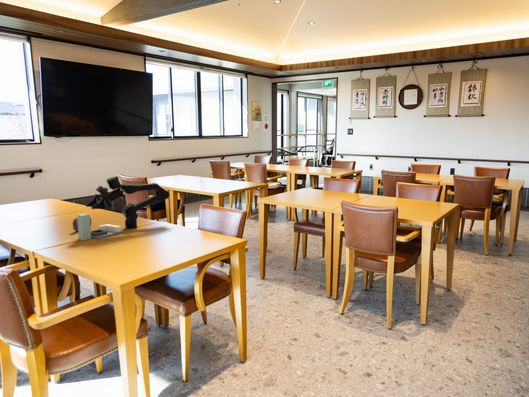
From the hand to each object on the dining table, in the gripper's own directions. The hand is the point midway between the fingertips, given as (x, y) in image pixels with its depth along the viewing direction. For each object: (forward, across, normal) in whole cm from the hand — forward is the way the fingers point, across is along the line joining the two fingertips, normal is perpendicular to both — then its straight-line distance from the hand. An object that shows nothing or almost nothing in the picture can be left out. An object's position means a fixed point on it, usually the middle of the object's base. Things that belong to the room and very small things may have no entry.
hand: (88, 207), depth 234 cm
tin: (+6, -14, +15) cm, 21 cm away
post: (+11, +10, +13) cm, 20 cm away
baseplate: (0, +6, +17) cm, 18 cm away
